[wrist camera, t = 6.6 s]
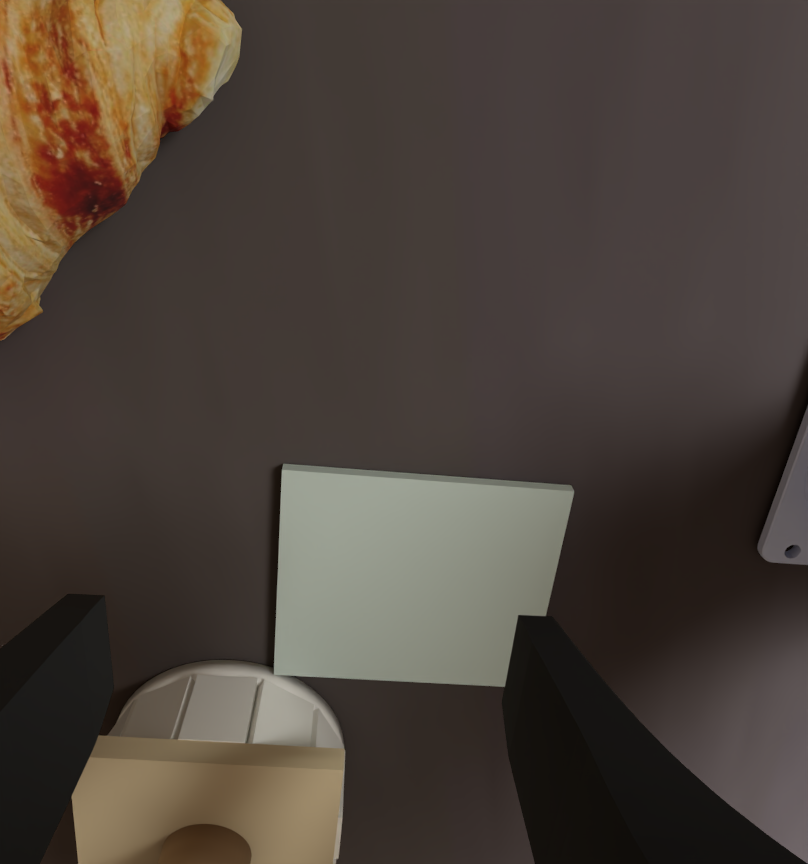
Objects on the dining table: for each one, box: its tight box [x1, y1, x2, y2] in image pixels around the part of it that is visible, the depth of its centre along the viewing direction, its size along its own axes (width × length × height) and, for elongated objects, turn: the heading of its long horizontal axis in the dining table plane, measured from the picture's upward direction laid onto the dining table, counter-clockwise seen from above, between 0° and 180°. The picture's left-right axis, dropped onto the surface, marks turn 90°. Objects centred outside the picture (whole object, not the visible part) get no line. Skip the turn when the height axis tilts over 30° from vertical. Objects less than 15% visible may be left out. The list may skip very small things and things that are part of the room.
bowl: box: [107, 660, 345, 864], centre depth 25 cm, size 8×8×4 cm
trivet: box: [274, 464, 574, 687], centre depth 24 cm, size 9×8×1 cm
